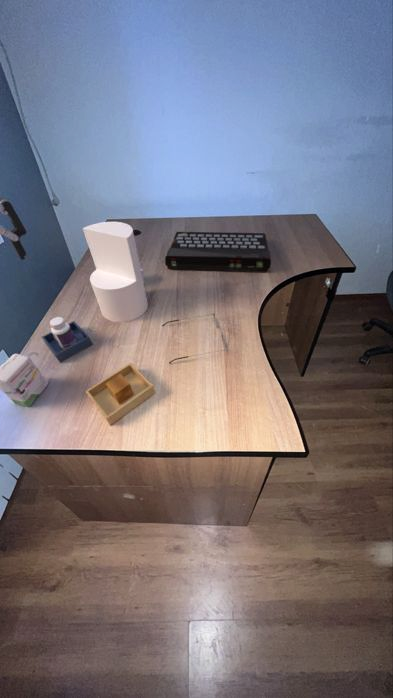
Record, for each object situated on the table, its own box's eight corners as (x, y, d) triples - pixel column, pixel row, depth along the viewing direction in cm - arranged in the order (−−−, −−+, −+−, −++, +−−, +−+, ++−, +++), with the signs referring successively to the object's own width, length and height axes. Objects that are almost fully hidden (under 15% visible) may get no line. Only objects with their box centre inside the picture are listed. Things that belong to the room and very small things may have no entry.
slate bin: (60, 362, 82) (55, 355, 79) (46, 344, 88) (41, 336, 85) (92, 344, 87) (89, 337, 84) (77, 328, 93) (74, 320, 90)
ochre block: (119, 404, 70) (114, 394, 67) (110, 394, 73) (105, 383, 69) (133, 394, 73) (129, 383, 69) (124, 384, 75) (120, 373, 71)
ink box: (29, 408, 71) (4, 382, 63) (14, 403, 72) (-12, 377, 64) (49, 383, 77) (29, 356, 68) (35, 379, 78) (14, 352, 69)
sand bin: (110, 425, 67) (106, 418, 64) (89, 398, 73) (85, 391, 70) (155, 392, 73) (153, 385, 71) (132, 370, 79) (130, 362, 77)
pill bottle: (80, 339, 88) (69, 316, 81) (71, 350, 85) (58, 328, 77) (66, 336, 89) (54, 314, 82) (56, 347, 86) (43, 325, 79)
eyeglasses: (229, 354, 82) (229, 345, 79) (169, 365, 81) (167, 356, 78) (214, 317, 95) (214, 308, 92) (162, 326, 93) (160, 318, 90)
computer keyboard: (264, 243, 132) (266, 230, 128) (269, 273, 113) (271, 258, 109) (176, 241, 137) (174, 228, 132) (166, 270, 118) (164, 255, 113)
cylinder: (121, 289, 108) (101, 218, 88) (156, 300, 102) (144, 227, 82) (91, 314, 98) (61, 239, 77) (129, 327, 92) (106, 251, 72)
